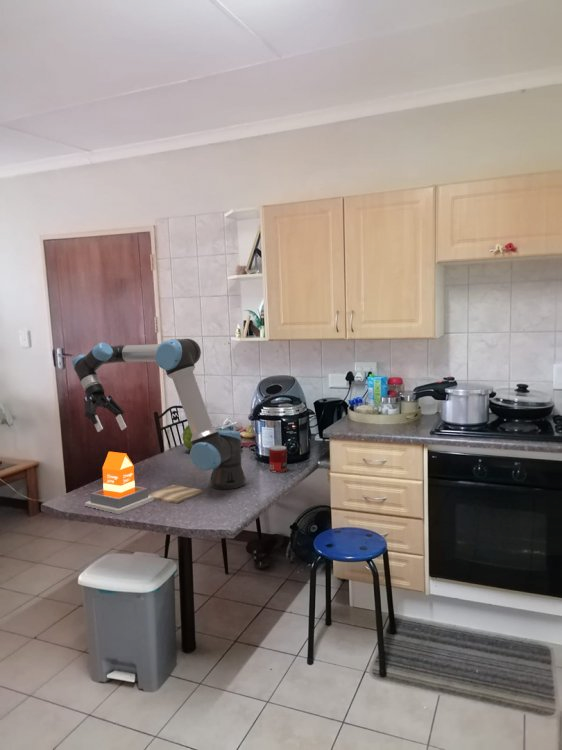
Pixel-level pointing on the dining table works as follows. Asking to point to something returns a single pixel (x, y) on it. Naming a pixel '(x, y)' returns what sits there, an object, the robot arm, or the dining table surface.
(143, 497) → the collar holder
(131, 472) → the orange juice
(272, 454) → the canned food
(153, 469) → the dining table surface
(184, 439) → the lettuce
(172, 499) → the oak board
